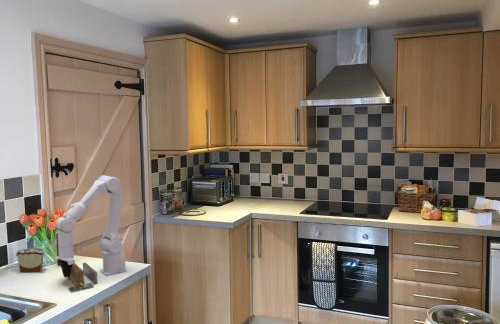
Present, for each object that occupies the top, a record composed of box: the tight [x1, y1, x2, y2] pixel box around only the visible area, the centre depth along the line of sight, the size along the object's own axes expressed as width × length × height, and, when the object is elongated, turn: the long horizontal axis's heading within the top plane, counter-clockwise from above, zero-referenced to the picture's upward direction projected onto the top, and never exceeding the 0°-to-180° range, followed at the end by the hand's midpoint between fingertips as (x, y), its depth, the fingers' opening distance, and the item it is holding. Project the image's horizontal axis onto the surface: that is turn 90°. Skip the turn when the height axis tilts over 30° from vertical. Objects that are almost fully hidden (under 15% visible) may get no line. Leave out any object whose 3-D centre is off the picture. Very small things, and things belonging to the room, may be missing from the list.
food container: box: [15, 247, 45, 274], centre depth 196 cm, size 12×6×10 cm, turn 92°
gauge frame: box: [68, 262, 98, 294], centre depth 182 cm, size 12×19×5 cm, turn 38°
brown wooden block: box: [67, 262, 85, 286], centre depth 181 cm, size 3×18×6 cm, turn 38°
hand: (66, 276), depth 180 cm, fingers closed, pressing on brown wooden block
